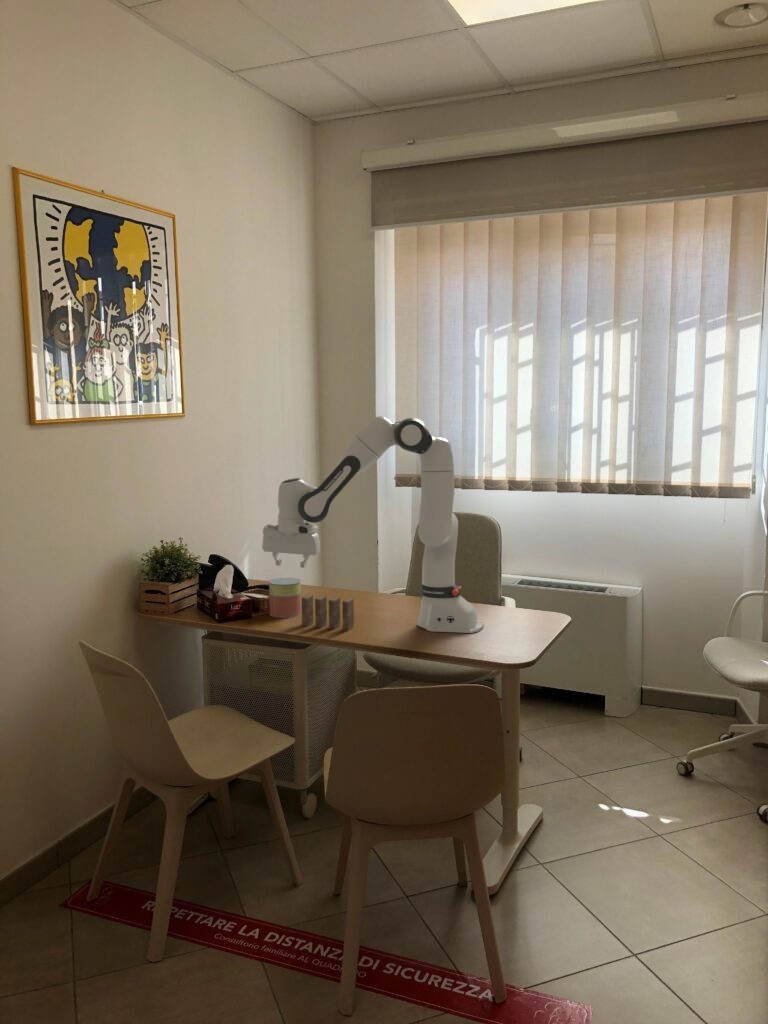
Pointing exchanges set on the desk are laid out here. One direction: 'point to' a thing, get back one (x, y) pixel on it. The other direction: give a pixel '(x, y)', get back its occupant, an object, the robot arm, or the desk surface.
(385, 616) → the desk surface
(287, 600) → the canned food
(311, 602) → the domino
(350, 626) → the domino
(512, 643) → the desk surface
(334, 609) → the domino
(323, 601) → the domino
